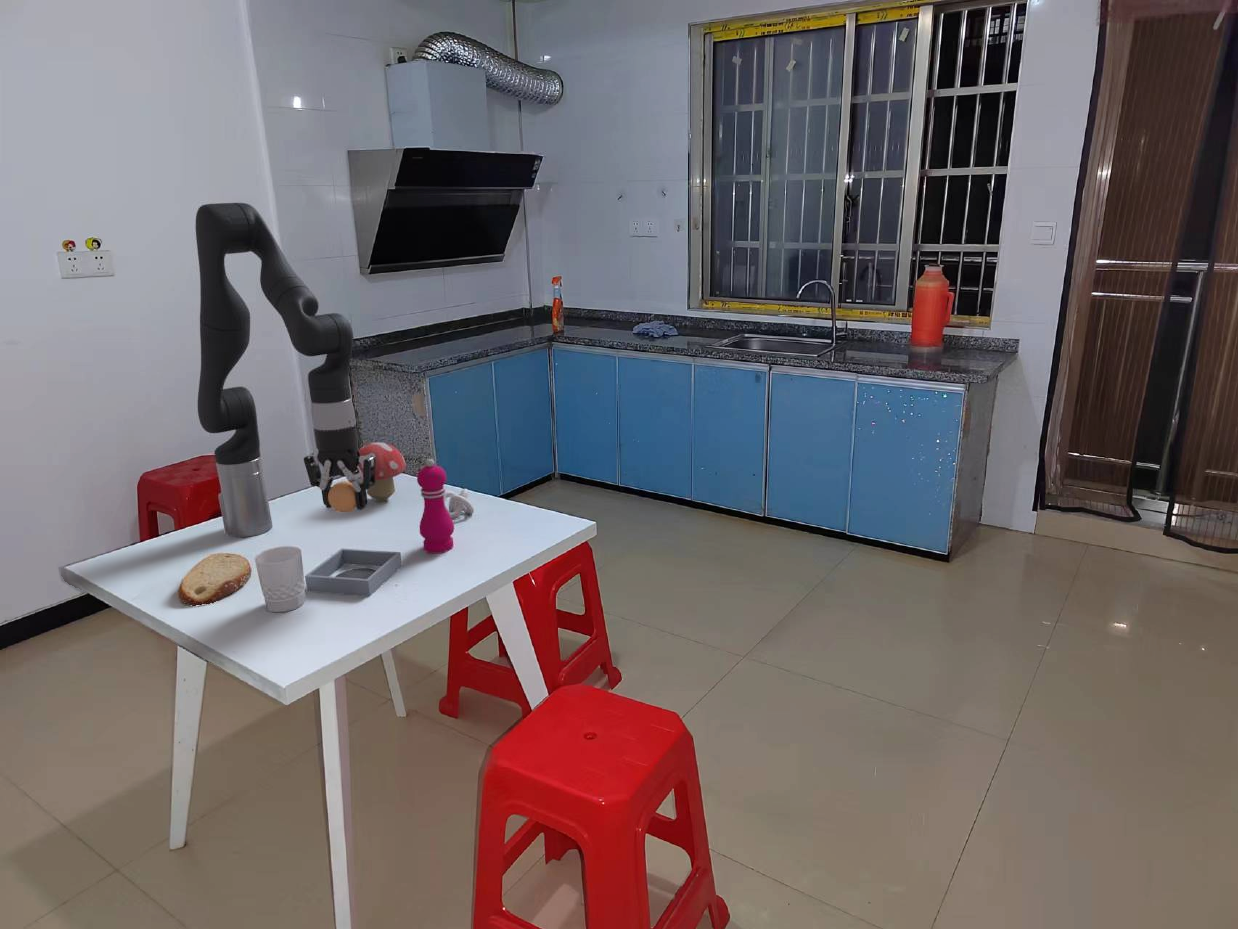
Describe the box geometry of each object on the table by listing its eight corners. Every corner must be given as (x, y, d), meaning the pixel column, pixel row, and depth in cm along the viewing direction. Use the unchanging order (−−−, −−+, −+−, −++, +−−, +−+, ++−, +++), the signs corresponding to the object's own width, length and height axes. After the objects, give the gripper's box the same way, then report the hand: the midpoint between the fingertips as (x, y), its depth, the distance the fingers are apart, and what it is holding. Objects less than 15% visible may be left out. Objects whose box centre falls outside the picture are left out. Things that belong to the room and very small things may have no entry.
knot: (445, 523, 183) (443, 500, 182) (436, 512, 190) (434, 490, 188) (476, 517, 187) (474, 494, 185) (466, 507, 193) (464, 484, 192)
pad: (323, 587, 153) (323, 586, 153) (347, 567, 161) (347, 566, 161) (365, 590, 151) (365, 589, 151) (387, 570, 159) (387, 569, 159)
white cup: (263, 617, 142) (254, 566, 139) (263, 599, 148) (254, 550, 145) (309, 608, 144) (302, 558, 141) (307, 591, 151) (300, 543, 148)
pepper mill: (462, 546, 170) (454, 458, 164) (434, 557, 165) (424, 466, 159) (443, 538, 175) (434, 452, 169) (415, 548, 170) (405, 459, 164)
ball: (324, 516, 150) (319, 486, 148) (340, 505, 155) (336, 476, 153) (352, 518, 148) (348, 487, 147) (368, 506, 154) (364, 477, 152)
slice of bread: (228, 557, 169) (225, 541, 167) (282, 574, 160) (279, 558, 158) (144, 591, 154) (140, 574, 153) (198, 612, 145) (194, 594, 144)
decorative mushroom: (420, 496, 202) (414, 439, 197) (381, 513, 191) (374, 453, 186) (383, 488, 208) (376, 433, 204) (343, 504, 197) (335, 447, 193)
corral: (307, 591, 151) (304, 576, 150) (343, 562, 164) (341, 548, 163) (370, 596, 149) (368, 580, 148) (402, 566, 161) (400, 552, 160)
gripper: (288, 427, 144) (301, 512, 149) (359, 429, 142) (370, 516, 147) (311, 417, 151) (323, 499, 156) (379, 419, 149) (389, 502, 154)
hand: (346, 507), depth 152 cm, fingers closed on ball, 6 cm apart
